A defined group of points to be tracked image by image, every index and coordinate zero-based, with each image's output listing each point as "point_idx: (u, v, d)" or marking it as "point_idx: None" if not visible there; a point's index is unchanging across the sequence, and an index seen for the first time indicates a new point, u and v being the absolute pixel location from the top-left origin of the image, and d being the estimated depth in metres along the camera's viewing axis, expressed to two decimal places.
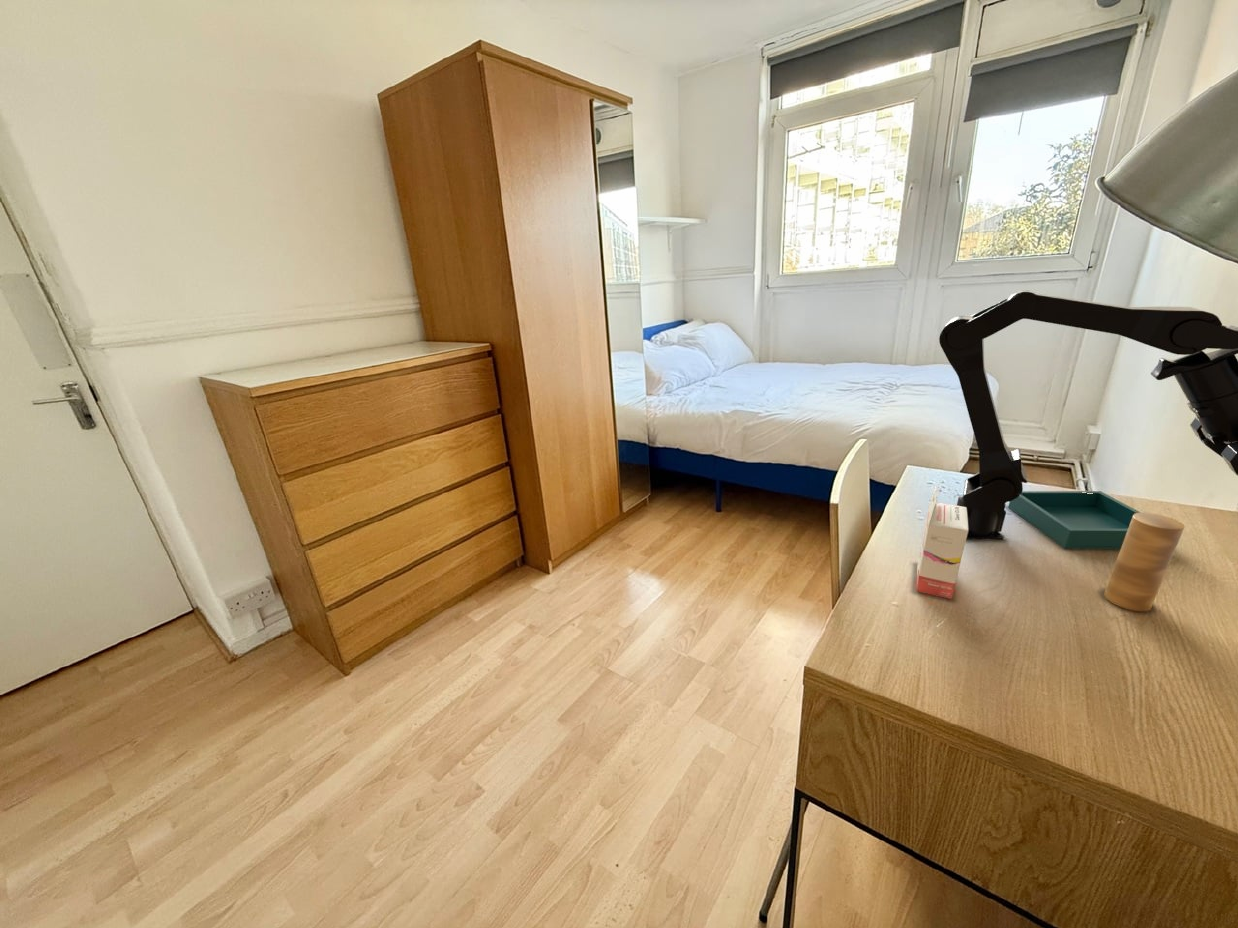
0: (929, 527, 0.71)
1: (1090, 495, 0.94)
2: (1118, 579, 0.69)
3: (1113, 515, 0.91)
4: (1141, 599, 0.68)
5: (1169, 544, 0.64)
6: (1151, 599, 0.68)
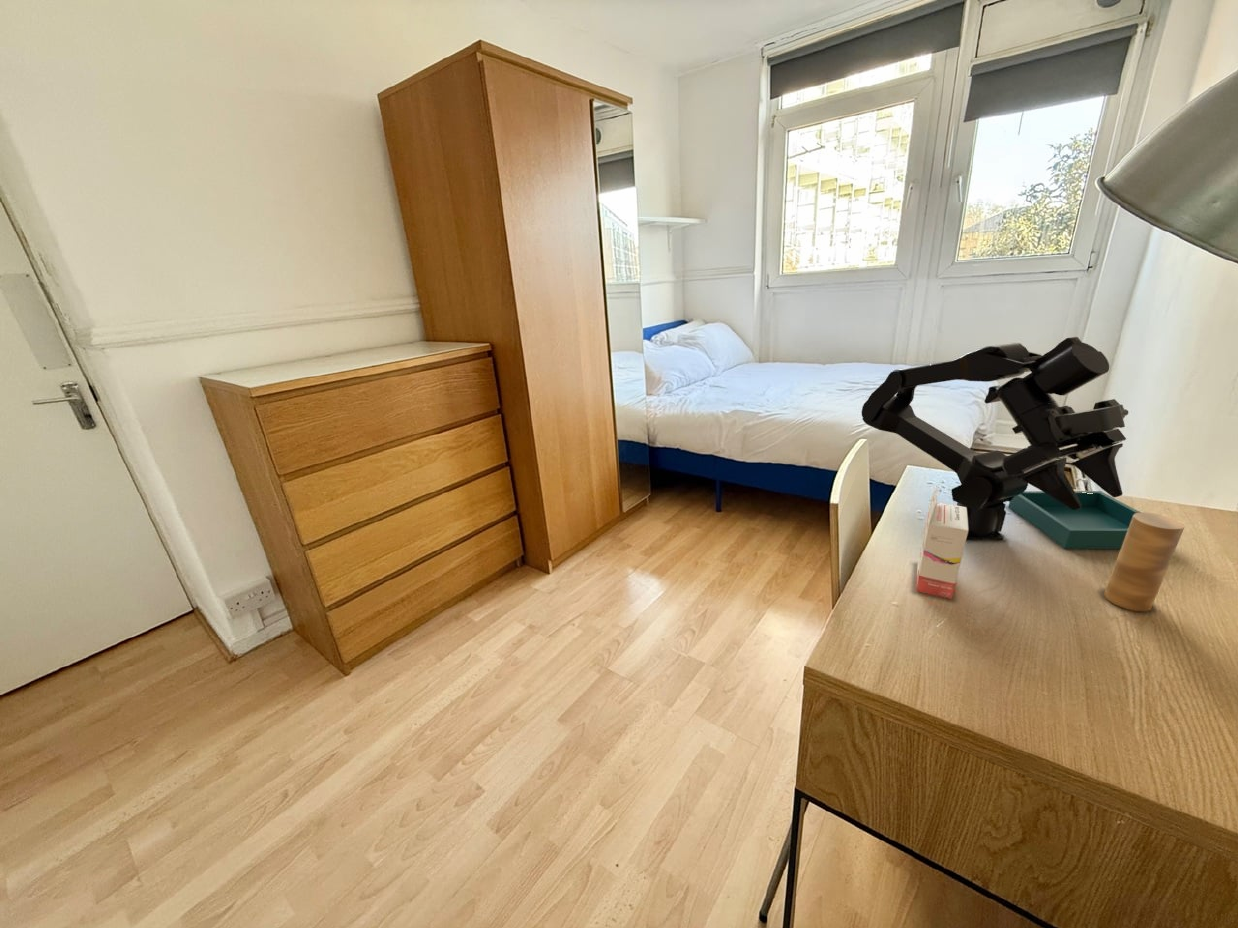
0: (929, 527, 0.71)
1: (1090, 495, 0.94)
2: (1118, 579, 0.69)
3: (1113, 515, 0.91)
4: (1141, 599, 0.68)
5: (1169, 544, 0.64)
6: (1151, 599, 0.68)
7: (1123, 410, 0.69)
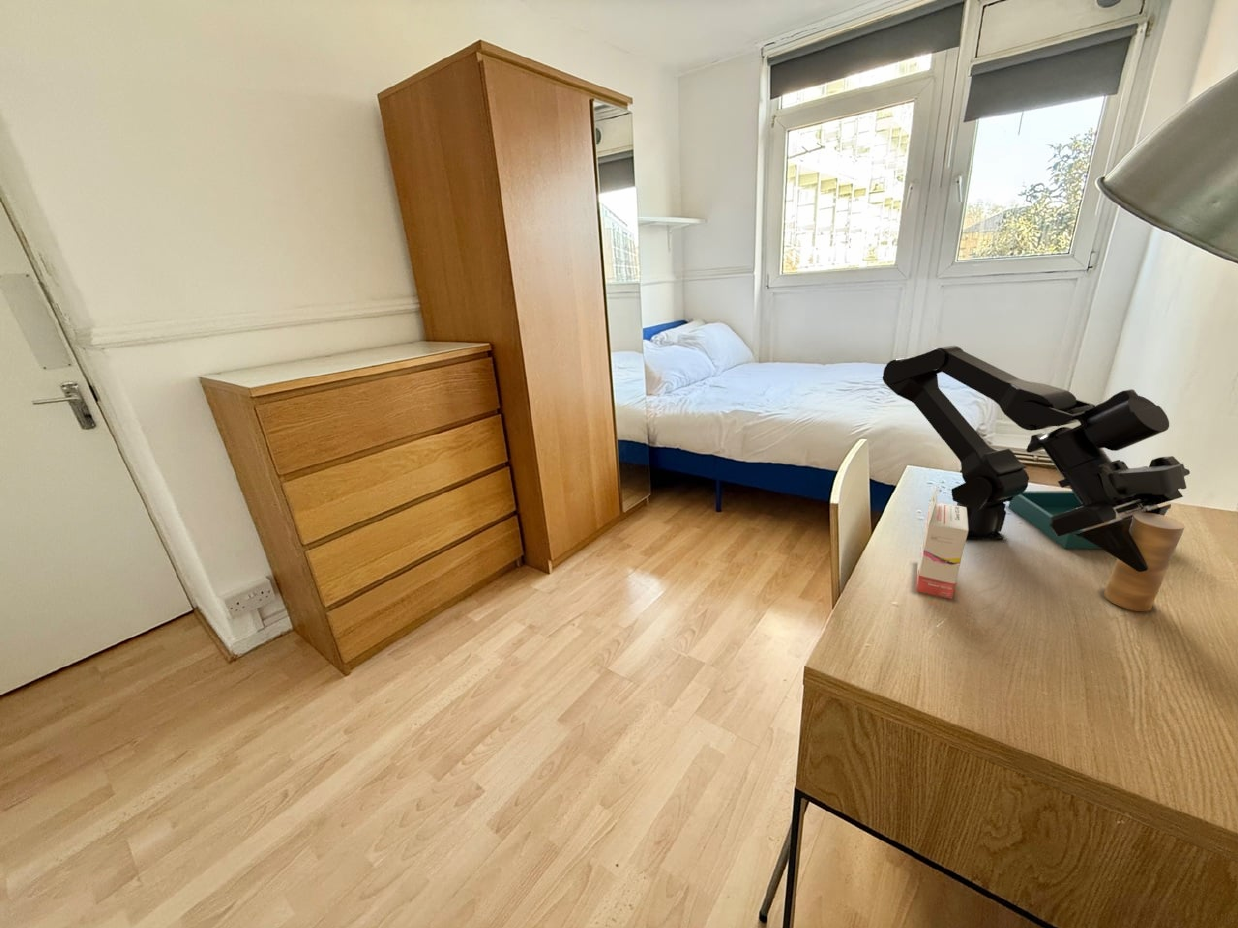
0: (929, 527, 0.71)
1: None
2: (1118, 579, 0.69)
3: None
4: (1141, 599, 0.68)
5: (1169, 544, 0.64)
6: (1151, 599, 0.68)
7: (1184, 470, 0.64)
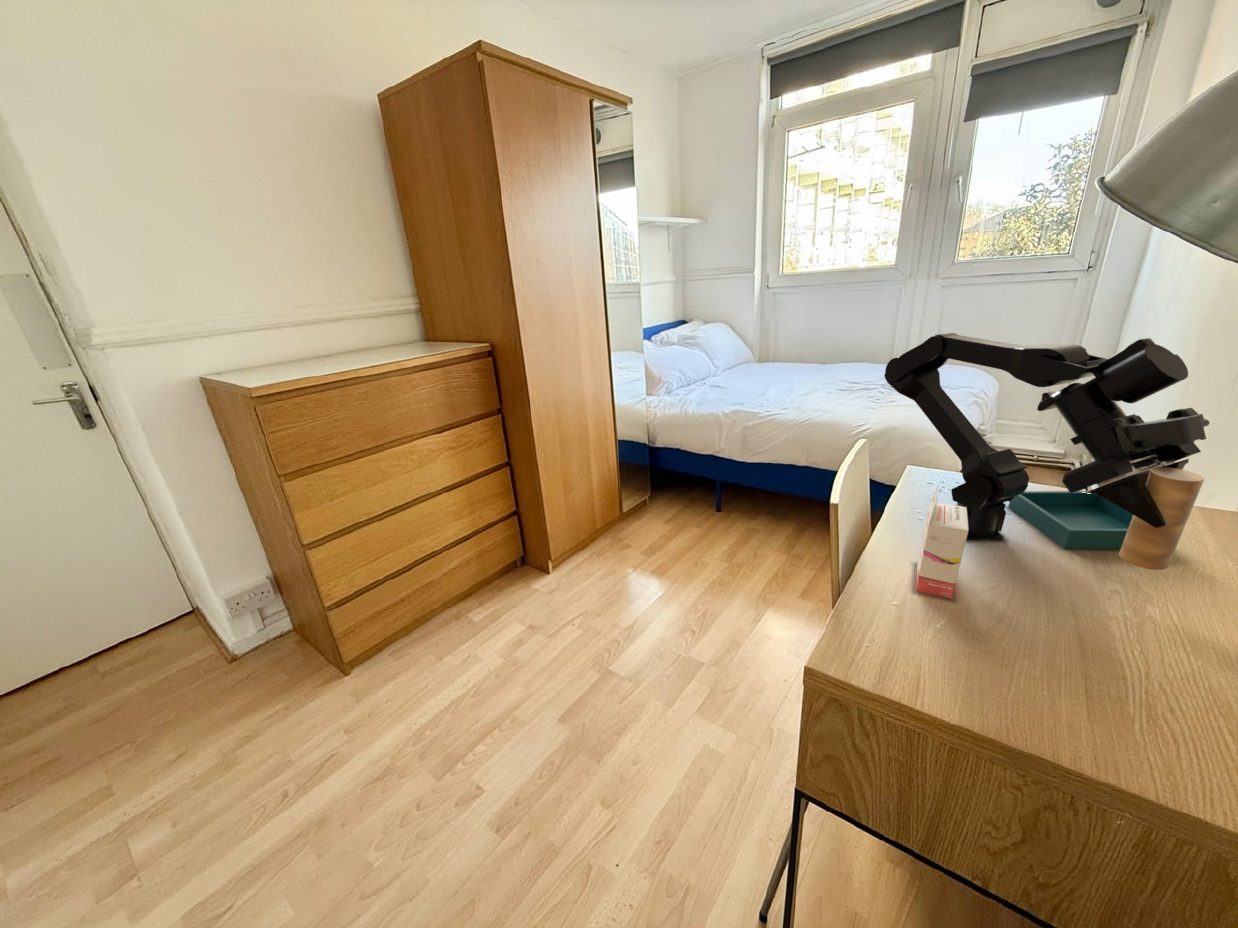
0: (929, 527, 0.71)
1: (1090, 495, 0.94)
2: (1133, 537, 0.67)
3: (1113, 515, 0.91)
4: (1158, 557, 0.65)
5: (1188, 498, 0.62)
6: (1168, 557, 0.65)
7: (1204, 420, 0.62)
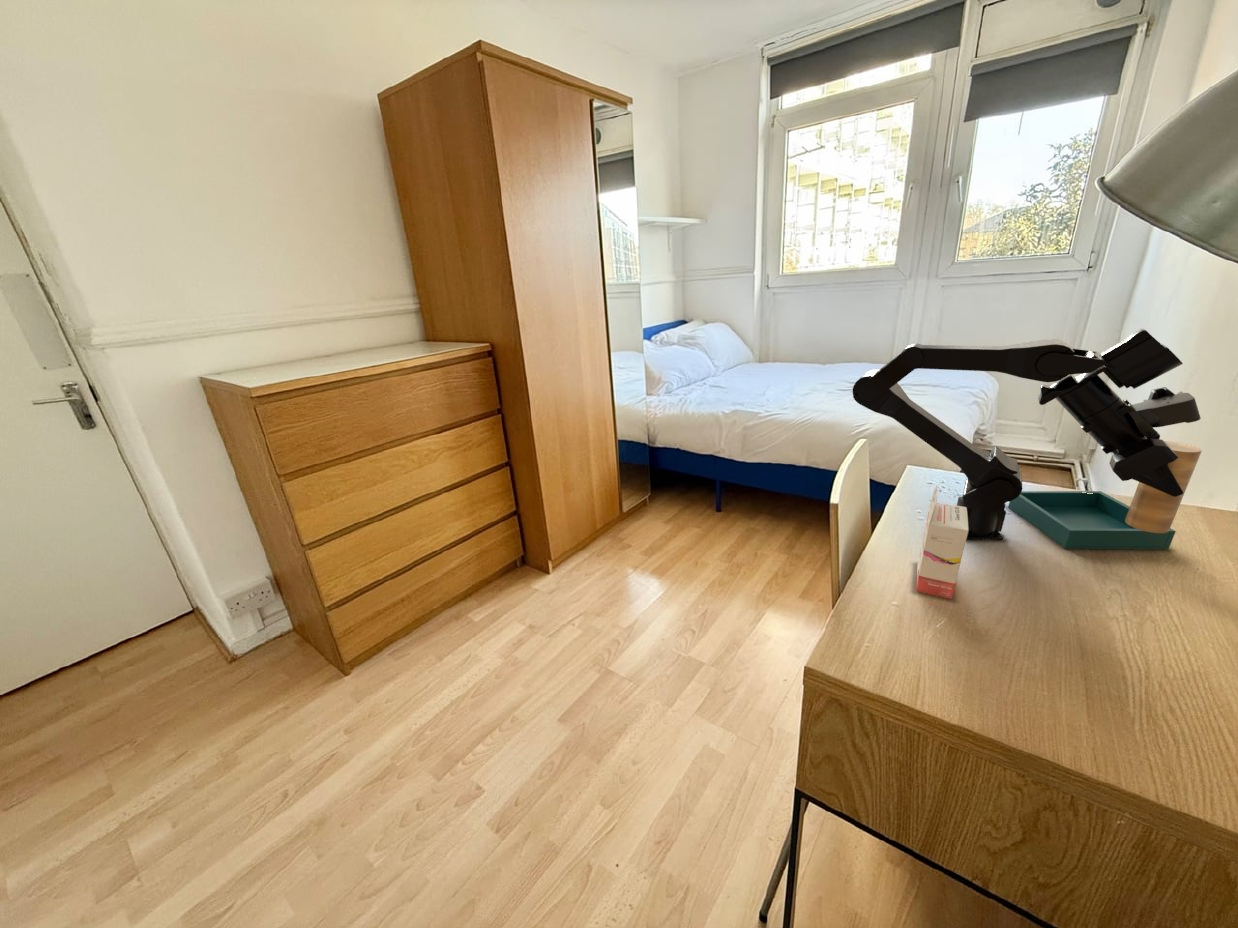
0: (929, 527, 0.71)
1: (1090, 495, 0.94)
2: (1150, 508, 0.73)
3: (1113, 515, 0.91)
4: (1170, 521, 0.73)
5: None
6: (1173, 519, 0.74)
7: None
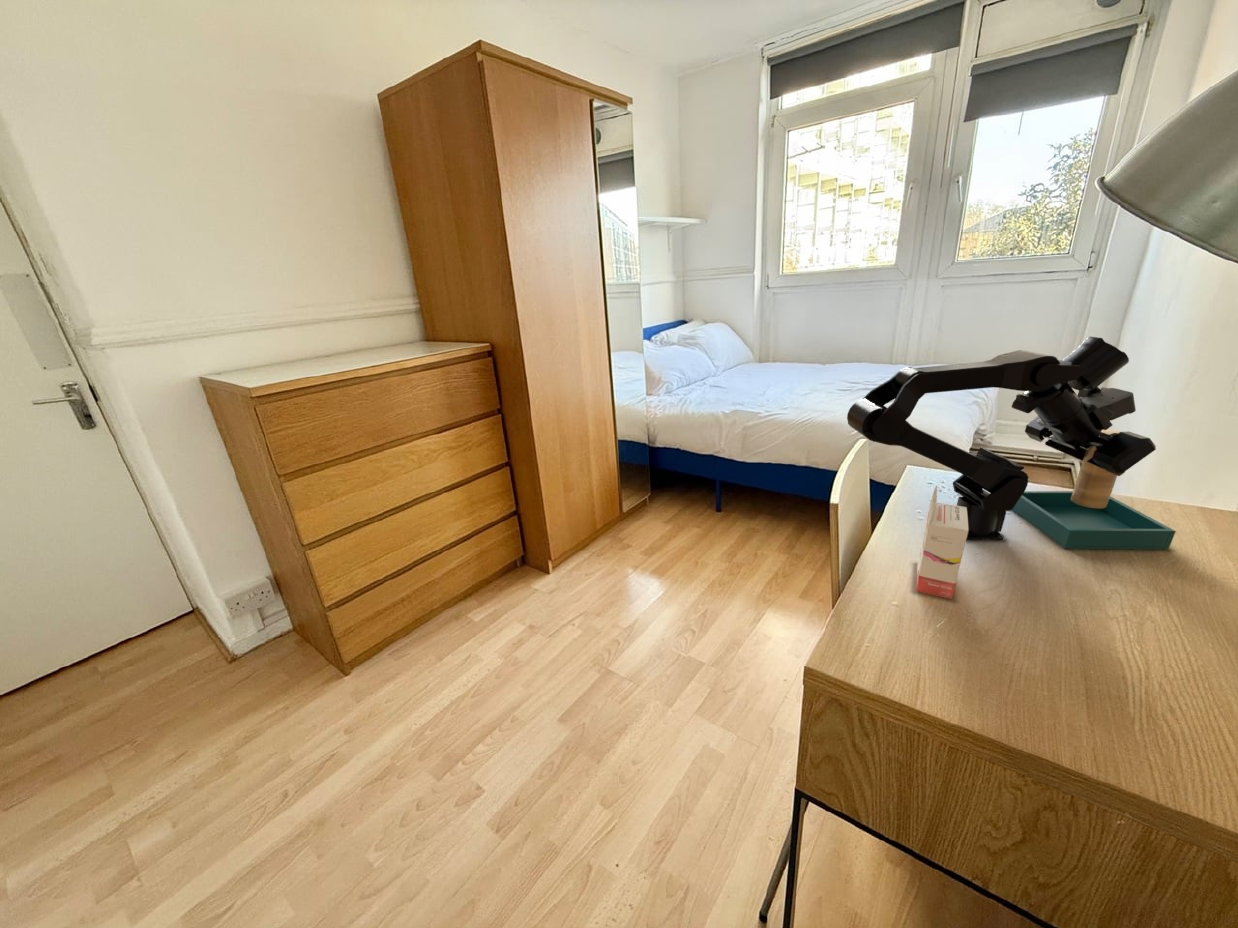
0: (929, 527, 0.71)
1: None
2: (1101, 489, 0.84)
3: (1113, 515, 0.91)
4: None
5: None
6: None
7: None
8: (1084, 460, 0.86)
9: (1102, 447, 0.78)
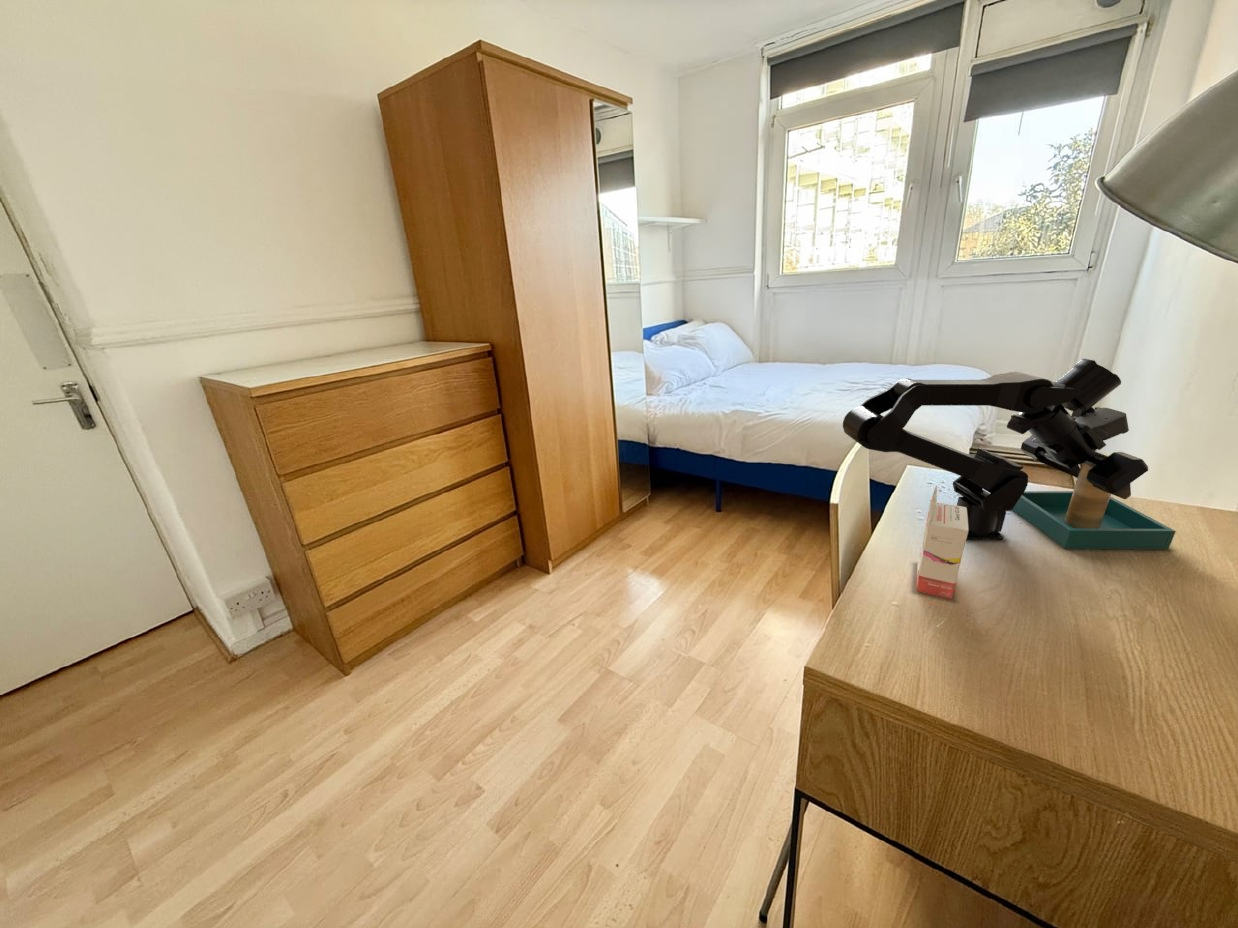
0: (929, 527, 0.71)
1: None
2: (1094, 511, 0.86)
3: (1113, 515, 0.91)
4: None
5: None
6: None
7: None
8: (1077, 483, 0.87)
9: (1096, 467, 0.79)
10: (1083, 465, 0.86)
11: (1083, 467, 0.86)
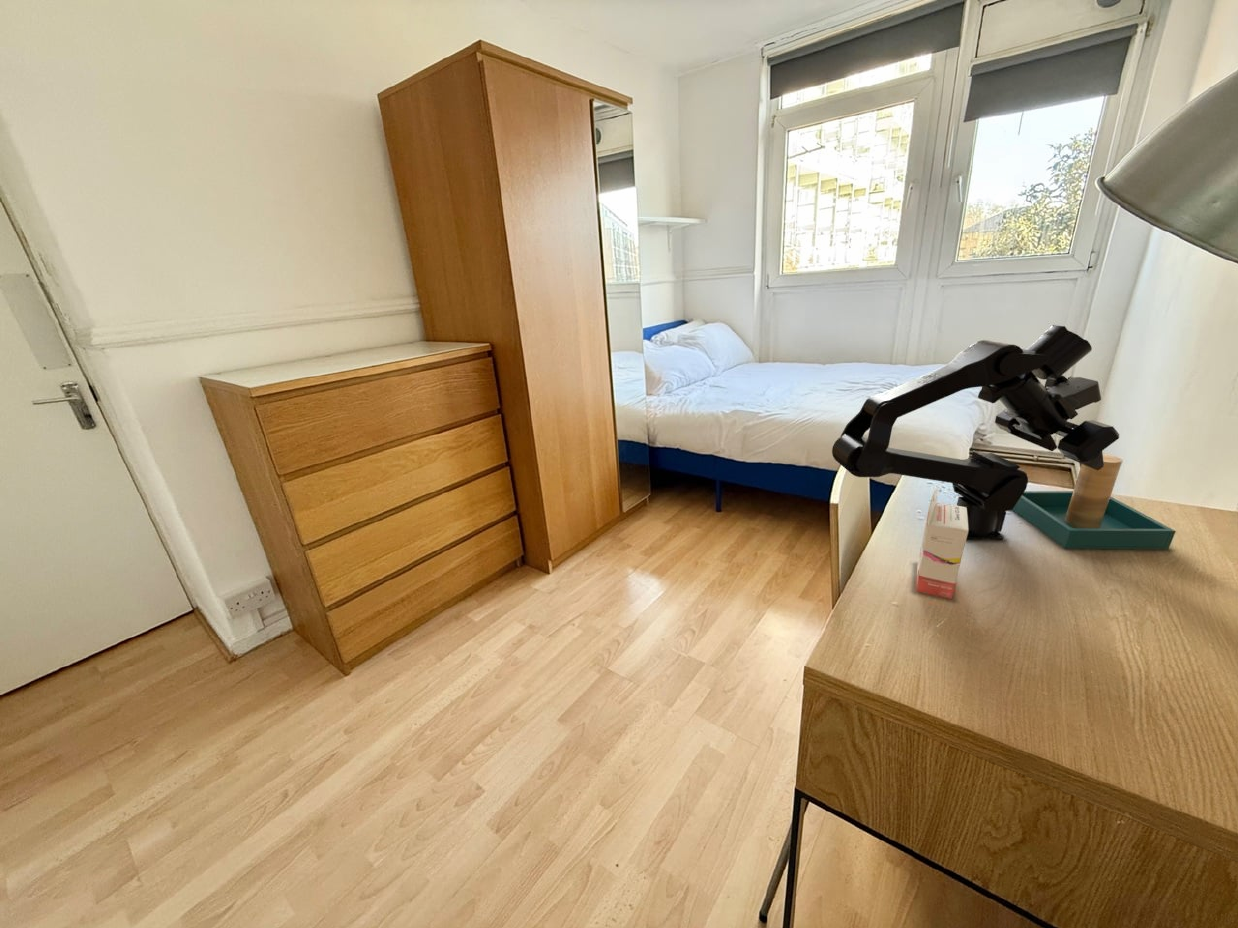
0: (929, 527, 0.71)
1: None
2: (1094, 511, 0.86)
3: (1113, 515, 0.91)
4: None
5: None
6: None
7: None
8: (1077, 483, 0.87)
9: (1067, 436, 0.77)
10: (1083, 465, 0.86)
11: (1083, 467, 0.86)
